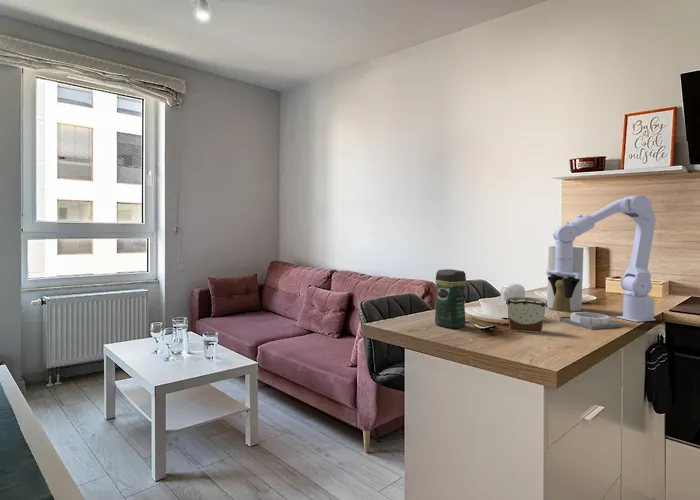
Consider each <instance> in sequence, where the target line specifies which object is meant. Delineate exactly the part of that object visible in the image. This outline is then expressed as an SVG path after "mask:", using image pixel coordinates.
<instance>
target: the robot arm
mask: <svg viewBox="0 0 700 500" xmlns="http://www.w3.org/2000/svg"><path fill="white" fill-rule="evenodd" d="M652 205H653V202H652V201H651V199H650V198H648V197H647V196H646V195H643V194H636V195H632V196H630V195H629V196H623V197H621V198H619V199H616V200H614V201H612V202H611V203H608V204H607V205H605V206H604V207H602V208H600V209H598V210H597V211H595V212H594V213H591V214H589V215H588V214H578V215H577V216H576V217H577V218H575V219H573V220H572V221H569V222H568V221H566V222H565V223H564V226H563V225H561V226H558V227H557V228H556V229H555V230H554V232H553V233H552V236H553V239H554V240H555V246H554V247H555V270H548V269H546V273H545V274H546V276H547V281H548V280H549V281H550V283H551V286H552V289H553V293H554V296H555V294H556V289H557V288H556V287H555V283H556V281H557V280H564V283H565V291H566V298H572V295H573V292H574V290H575V287H576V285H577V284H578V282H579V281H580V279H582V273H577V272H572V265H573V260H572V259H573V247H574V241H575V240H576V238H578V237H579V236H582V235H583V234H584V233H588V232H589V231H590V230H592V229H594V227H595V225H596V223H598V222H600V221H603V220H604V219H607V218H609V217H611V216H613V215H614V214H617V213H622V214H624V215H626V216H627V217H630V218H631V219H632V221H634V222H635V224H636V227H635V232H634V239H633V245H632V250H631V256H630V261H629V266H628V267H627V269H626V270H624V271H625V272H624V275H623V276H622V278H621V280H620V287H621V289H622V290H623V299H622V303H623V304H622V315H618V316H616V318H617V319H621V320H627V321H631V322H636V323H640V322H650V321H656V320H657V319H656V318H654V316H655V315H654V311H655V300H654V299H653V297H652V296H650V295H649V293H650V292H651V290H652V289H653V283H652V281H651V278H652V277H651V275H652V274H651V273H650V271H649V270H648V267H649V261H650V255H651V251H652V243H653V239H654V233H655V226H656V222H657V221H656V220H657V218H656V215H655V213H654V212H655V211H653V208H652ZM558 274H564V275H558ZM548 275H551V276H550V277H548ZM563 277H568V278H563Z"/></svg>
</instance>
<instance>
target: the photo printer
mask: <svg viewBox="0 0 700 500" xmlns="http://www.w3.org/2000/svg"><path fill="white" fill-rule="evenodd" d="M510 297H526V290H525V287H524V286H523V285H521V284H520V283H508V284H506V285H504V286H502V287H501V289H500V299H499V300H500V301H506V300H507V298H510ZM500 301H499V302H500Z"/></svg>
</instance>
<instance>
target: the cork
mask: <svg viewBox="0 0 700 500" xmlns="http://www.w3.org/2000/svg"><path fill="white" fill-rule="evenodd" d="M555 287H556V288H557V289H556V294H555V299H554V303H553V308H552V309H553V310H552V309H551V310H552V311H557V312H564V313H569V312H570V311H571V310H570V298H566V291H565V283H564V280H557V281H556V283H555Z"/></svg>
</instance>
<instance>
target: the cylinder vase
mask: <svg viewBox="0 0 700 500" xmlns="http://www.w3.org/2000/svg"><path fill="white" fill-rule="evenodd" d="M555 247H556V246H548V259H547V260H548V261H547V270H555ZM584 249H585V248H584V247H581V246H573V259H572V260H573V265H572V272H577V273H582V279H580V281H579V282H578V284H577V285H576V287H575V290H574V292H573V295H572V298H570V310H571V311H570V312H571V313H573V312H581V310H582V306H583V305H582V304H583V299H582V298H583V280H584V279H583V278H584V277H583V276H584V274H583V273H584ZM558 275H564V274H558ZM550 276H551V275H547V278H548V277H550ZM563 278H568V277H563ZM546 296H547V297H546V303H547V306H548V308H547V309H548V310H549V309H550V310H552V311H554V310H553V309H552V308H553V303H554V299H555V296H554V293H553V289H552V286H551V283H550V281H549V280H548V279H547V294H546Z"/></svg>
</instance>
